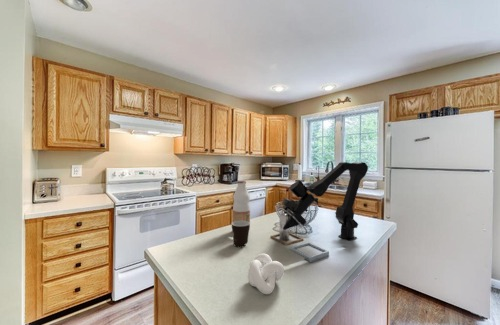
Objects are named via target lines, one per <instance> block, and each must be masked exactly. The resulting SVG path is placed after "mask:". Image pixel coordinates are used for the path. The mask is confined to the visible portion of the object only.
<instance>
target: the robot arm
mask: <svg viewBox="0 0 500 325" xmlns="http://www.w3.org/2000/svg"><path fill="white" fill-rule="evenodd" d="M346 171H348V173H349V174H348V175H349V181H348V185H347V188H346V192H345V195H344V199H343V201H342V204H341V205H340V206H338V205H337V207H336V211H335V212H334V214H335V219H336V220H337V221H338V224H340V225H341V226H340V234H338V238H341V239H344V240H347V241H353V240H355V239H358V237H357V236H355V229H357V228H358V226H359V223H358V222H357V221H356V220H355V219H354V216H355V213H354V204H355V201H356V197H357V194H358V191H359V187H360V183H361V181H362V179H364V177H365V176H366V174H367V172H368V171H369V166H368V164H367V163H366V162H361V161H353V162H351V163H350V162H346V161H345V162H344V161H342V162H341V161H340V162H339V163H338V164H337V165H336V166H335V167H334V168H332V169H331V170H330V171H329V172H328V173H326V175H325V176H324V177H322V178H320V179H318V180H316V181H314V182H312V183H311V184H309V185H307V186H306V185H305V184H304V183H303V182H302V180H301V179H298V180H297V181H295V182H294V183H291V185H290V186H289V188H288V189H289V190H290V192H291V193H292V194H293V195H294V196H295V197H296V198H299V199H298V200H293V199H292V198H291V199H288V198H286V197H284V199H283V201H282V203H281V204H282V205H283V206H282V209H283V213H287V214H289V215H290V216H289V220H288V222H287V223H286V224H285V226H284V227H283V229H284V230H286V229H288V228H289V229H291V228H293V227H296V226H300V225H301V226H302V227H304V226H305V225H306V224H307V219H305V218H304V217H303V214H304V213H307V212H308V211H309V208H310V207H311V205H313V204H314V203H315V204H317V205H318V204H319V198H318V197H322V196H324V195H325V193H326V192H327V191H328V189H329V186H330V185H331V184H332V183H334V182H335V181H336V180H337V179H338V178H339V177H340V176H342V175H343V173H345V172H346ZM315 196H316V197H315ZM278 225H279V226H280V223H279V224H278Z"/></svg>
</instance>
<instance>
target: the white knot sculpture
mask: <svg viewBox="0 0 500 325" xmlns="http://www.w3.org/2000/svg"><path fill="white" fill-rule="evenodd" d="M247 273H248V274H247V279H248V280H247V281H248V283H249V285H251V287H254V288H256V289H257V290H258V291H259V292H260V293H262V294H263V295H271V293H272V292H273V291H274V289H275V285H276V282H278V281H280V280H281V279H282V278H283V276H284V274H285V267H284V265H283V263H281V262H279V261H277V260H272V257H271V256H270V255H269V254H267V253H259V254H257V255H256V256H255V257H254V258H253V259H252V260H251V262H250V264H249V268H248V272H247Z"/></svg>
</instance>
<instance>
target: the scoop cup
mask: <svg viewBox="0 0 500 325" xmlns="http://www.w3.org/2000/svg"><path fill="white" fill-rule="evenodd" d="M289 216H290V215H289V214H287V213H284V212H282V213H280V214H279V224H280V225H279V226H278V227H279V233H278V234H279V239H280V240H282V241H288V240H289V233H290V228H288V229H286V230H284V229H283V227H284V226H285V224H286V223H287V222H288V220H289Z"/></svg>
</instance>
